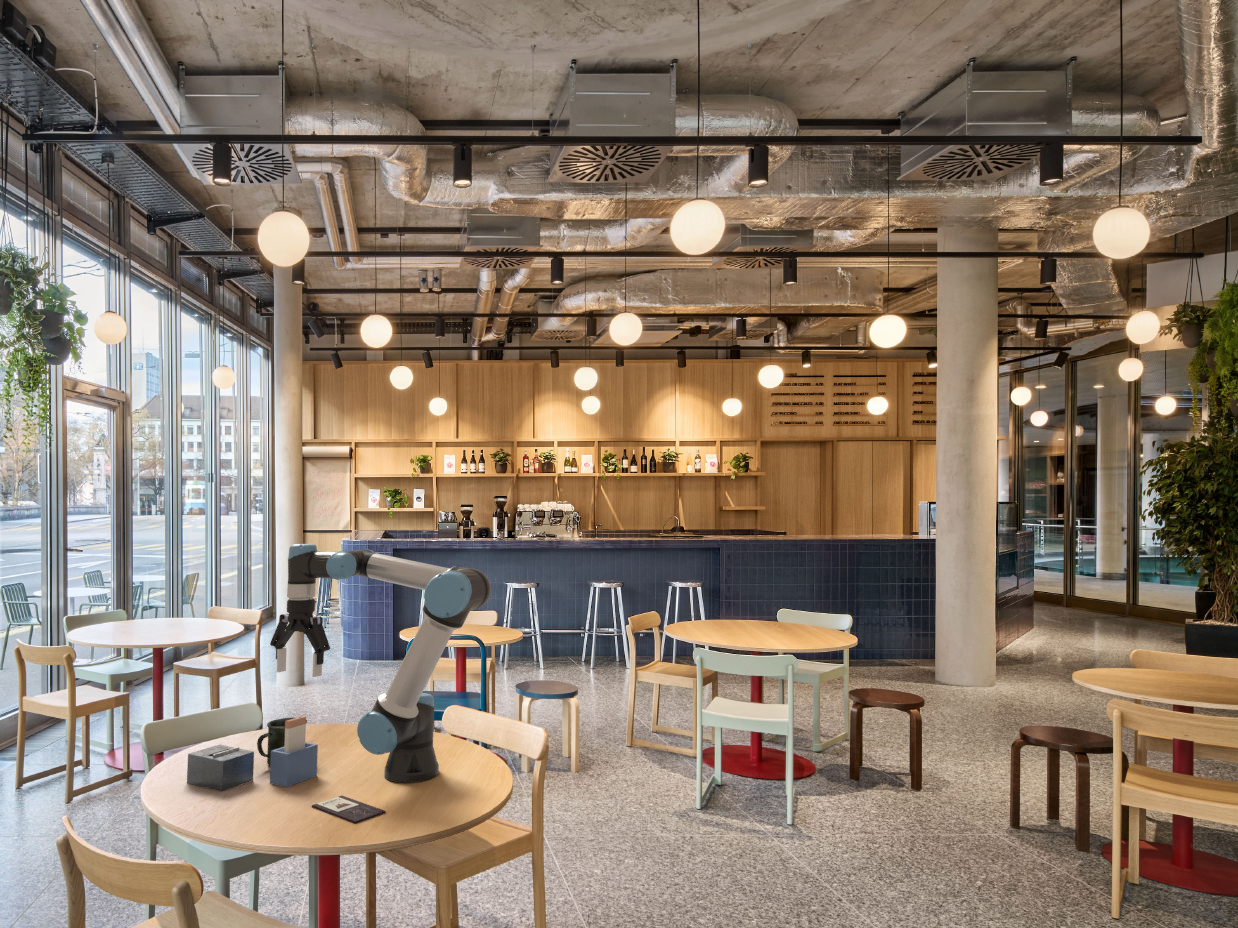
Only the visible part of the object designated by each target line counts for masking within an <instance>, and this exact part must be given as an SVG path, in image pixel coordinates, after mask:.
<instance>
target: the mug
mask: <svg viewBox="0 0 1238 928" xmlns="http://www.w3.org/2000/svg"><path fill="white" fill-rule="evenodd" d="M293 718H294V717H284V718H277V719H273V720H270V721H269V722H268V723H267V724H266V727H267V730H268V732H266V733H263V734H260V736H259V737H258V738H257V741H256V746H257V748H256V749H257V751H258V753H259V755H260V756H262V757H263V758H266V759H267V760H266V761H267V762H266V763H267V765H268V766H269V767H270V761H271V751H272V750H275V749H278V748H281V747H284V746H285V721H286V720H290V719H293ZM307 723H308V721H307V719H306V724H307ZM266 738H267V753H265V752H264V749H263V745H262V744H263V741H264V739H266Z"/></svg>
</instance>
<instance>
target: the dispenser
mask: <svg viewBox="0 0 1238 928" xmlns="http://www.w3.org/2000/svg"><path fill="white" fill-rule="evenodd" d="M254 760H255V751H253V750H248V749H243V748H240V746H237V747H235V746H229V745H223V744H217V745H213V746H210V747H206V748H204V749H200V750H196V751H193V752H189V753H187V773H186V774H187V775H186V784H188V785H192V786H195V787H201V788H205V789H209V790H213V791H217V792H222V793H223V792H225V791H228V790H230V789H234V788H236V787H239V786H241V785H245V784H248V783H251V782H253V781H254V769H255V768H254V767H255V766H254V762H255V761H254Z"/></svg>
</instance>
